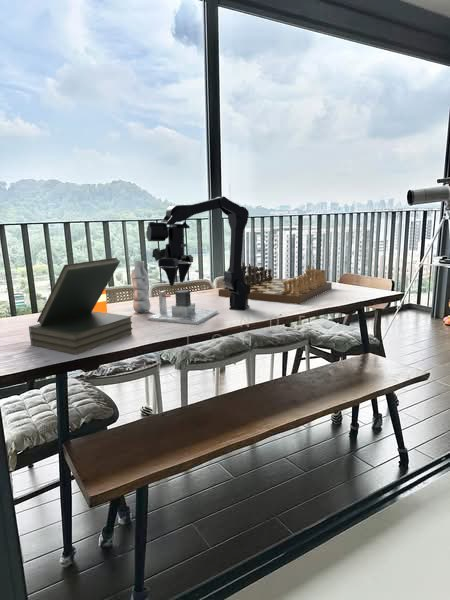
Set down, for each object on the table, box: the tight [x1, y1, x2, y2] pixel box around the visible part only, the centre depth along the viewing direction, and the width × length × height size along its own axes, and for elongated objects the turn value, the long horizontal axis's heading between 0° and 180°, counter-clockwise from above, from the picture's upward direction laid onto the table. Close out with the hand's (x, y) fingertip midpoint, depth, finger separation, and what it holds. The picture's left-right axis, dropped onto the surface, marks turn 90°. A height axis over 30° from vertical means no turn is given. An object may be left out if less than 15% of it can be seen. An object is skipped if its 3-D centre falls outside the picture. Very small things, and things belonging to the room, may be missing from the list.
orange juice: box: [92, 288, 108, 313], centre depth 158 cm, size 8×9×20 cm
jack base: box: [147, 290, 219, 325], centre depth 155 cm, size 20×18×9 cm
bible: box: [28, 257, 133, 355], centre depth 127 cm, size 23×20×25 cm
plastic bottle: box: [130, 260, 152, 314], centre depth 162 cm, size 6×7×20 cm
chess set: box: [218, 261, 333, 305], centre depth 198 cm, size 40×40×15 cm
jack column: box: [174, 289, 192, 306], centre depth 155 cm, size 4×4×8 cm
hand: (176, 283), depth 154 cm, fingers open, 9 cm apart
